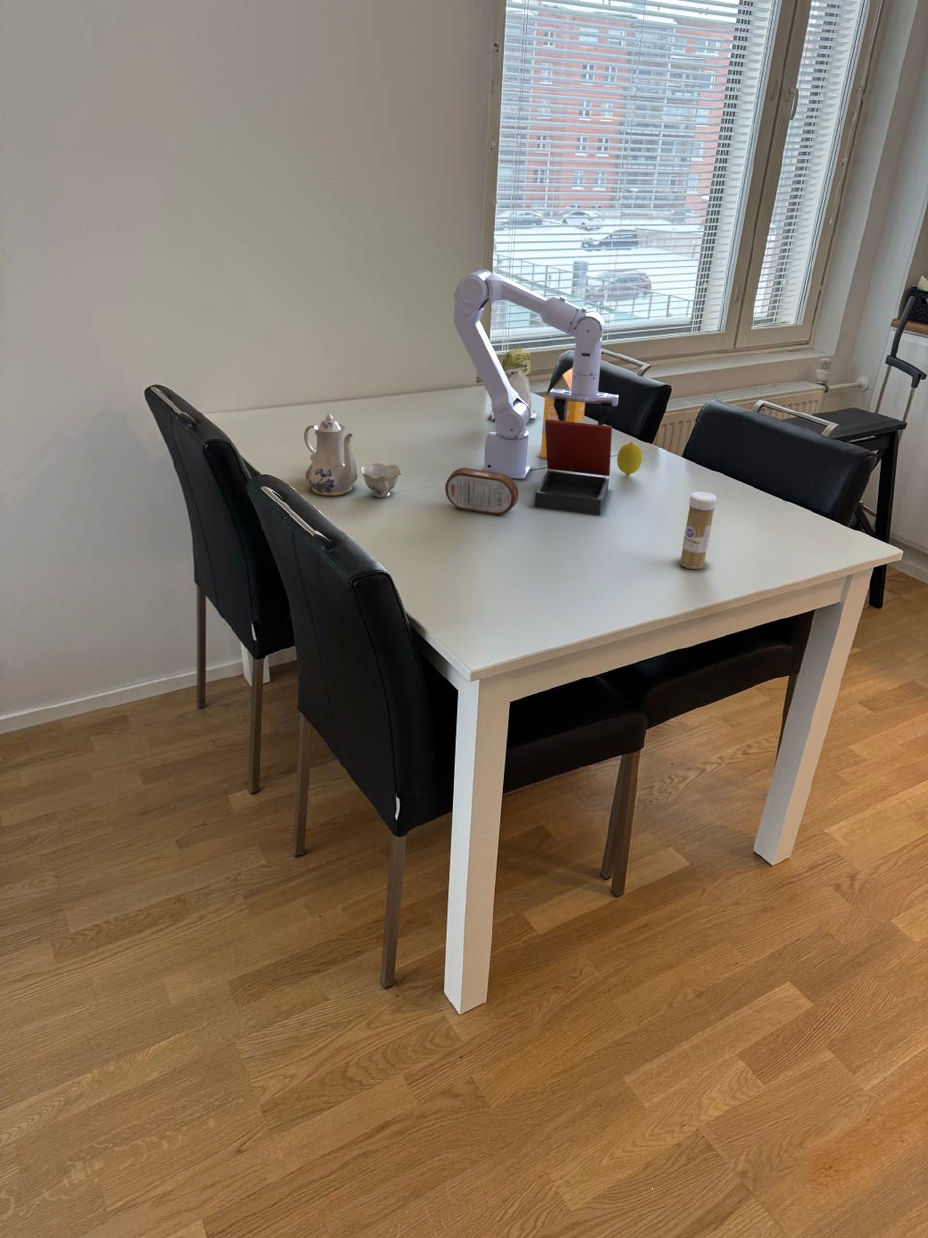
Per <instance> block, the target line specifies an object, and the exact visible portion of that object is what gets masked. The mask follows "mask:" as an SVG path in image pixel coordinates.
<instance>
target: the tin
mask: <svg viewBox="0 0 928 1238" xmlns="http://www.w3.org/2000/svg"><path fill="white" fill-rule="evenodd" d="M444 487H445V489H444V490H445V495H446V498H447V499H448V501H449V502H450V504H451V505H453V506H454V507H456V508H458V509H460V510H465V511H471V512H476V513H481V514H487V515H488V514H489V515H493V516H502V515H505V514H506V513H509V512H510V511H511V510H512V508H514V507H515V505H516V504H517V502H518V499H519V488H518V486H517V484H516V482H515V481H514V480H513V478H510V477H508V476H507V475H504V474H501V473H495V472H489V471H484V470H482V469H476V468H470V467H461V468H457V469H455V470H454V471H453V472H452V473H451V474H450V476H449V477H448V478H447V480H446V482H445V486H444Z"/></svg>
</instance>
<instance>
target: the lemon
mask: <svg viewBox="0 0 928 1238" xmlns="http://www.w3.org/2000/svg"><path fill="white" fill-rule="evenodd" d="M642 462H643V452H642V449H641V447H640V446H639V445H638V444H636V443H635V442H634V441H629V442H627V443H624V444H623V445H622V446H621V447H620V448H619V450H618V453H617V457H616V464H617V467H618V470H620V472H622V473H624V475H625V476H627V477H629V476H631V474H634V473H636V472H638V470H639V469H640V468H641V465H642Z"/></svg>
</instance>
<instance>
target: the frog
mask: <svg viewBox="0 0 928 1238" xmlns="http://www.w3.org/2000/svg"><path fill="white" fill-rule="evenodd" d="M502 369H503V371H504V373H509V374H510V375H509V377H508V378H507V379H508V381H509V383H510V385H511V387H512V388H513V389H514V390H515V391H516V392H517V393H518V395H519V397H520V398H521V400H522V401H524V402H525V403H526V404H527V405H528V406H529V408H530V411H531V417H530V419H534V420H535V419H536V417H538V416H539V414H538V413H537V412H536V410H533V408H532V397H531V387H530V381H529V379H528V377H527V376H526V375H528V374H530V373H531V372H532V363H531V352H530V351H529V350H528V349H526V348H513V349H511V350H509V351H508V352H506V355H505V357H503V359H502ZM489 416H490V417H491V420H492V421H493V420H495V416H494V414H493V412H492V409H491V410H490V413H489Z"/></svg>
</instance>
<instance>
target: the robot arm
mask: <svg viewBox="0 0 928 1238" xmlns="http://www.w3.org/2000/svg"><path fill="white" fill-rule="evenodd" d="M453 298H454V314H453V324H454V327H455V329H456V331H457V333H458V335H459V337H460V339H461V342H462V344H463V345H464V347H465V349H466V351H467V354H468V356H469V358H470V359H471V361H472V363H473V365H474V368H475V370H476V372H477V374H478V376H479V378H480V381H481V382H482V383H483V386H484V388H485V390H486V392H487V394H488V397H489V398H490V403H491V405H490V406H491V410H492V411H491V412H493V414H494V416H495V418H494V426H495V430H496V431H488V432H487V434H486V437H485V442H484V456H483V471H489V472H495V473H501V474H504V475H507V476H508V477H510V478H511V479H516V480H517V479H518V480H524V479H525V478H526V476H527V475H528V473H529V472H530V470H531V466H528V465H527V462H528V461H527V460H528V448H529V447H528V446H529V431H528V429H527V426H526V425H528V423H529V421H530V420H531V418H530V417H531V411H530V408H529V406H528V405H527V404H526V403H525V402H524V401H522V400H521V398H520V397H519V395H518V393H517V392H516V391H515V390H514V389H513V388H512V387H511V385H510V383H509V381H508V379H509V378H508V376H507V375H506V372H504V371H503V366H502V365H501V363H500V360H499V358H498V356H497V354H496V352H495V350H494V348H493V346H492V344H491V342H490V340H489V337H488V336H487V333H486V332H485V329H484V327H483V325H482V323H481V318H482V316H483V312H484V309H485V306H486V305H487V304H488V303H493V302H499V301H507V302H509V303H512V304H515V305H517V306H519V307H522V308H524V309H526V310H529V311H531V312H534V313H536V314H539V316H540V318H541V320H542V323H544V324H545V325H547V326H550V327H552V328H554V329H556V330H557V331H560V332H563V333H565V334H566V335H569V336H573V337H574V339H575V347H574V350H573V359H572V360H573V362H572V367H573V372H572V385H571V390H554V389H552V388H551V389H552V390H551V389H550V391H549V392H550V400H553V401H554V400H555V401H554V408H555V410H556V413H557V416H558V419H559V421H566V413H567V405H568V401H574V402H585V404H586V403H587V404H597V405H599V407H598V416H597V417H598V418H597V420H598V421H597V425H604V424H605V421H606V420H607V417H608V416H609V413H610V412H611V410H612V408H613V407H617V406H618V404H619V394H612V393H607V392H602V391H599V384H600V372H601V363H602V362H601V361H602V346H603V340H602V339H603V338H602V336H603V335H604V332H605V329H606V323H605V322H606V321H605V319H604V317H603V316H602V315H601V314H600V313H598V312H597V311H596V310H588V307H585V306H582V307H581V306H577V305H575V304H573V303H571V302H569V301H567V299H568V298H567V297H565V296H563V295H560V296H559V297H558V296H556V295H554V296H552V297H549V298H546V297H544V296H542V295H539V294H538V293H536V292H534V291H531V290H530V289H528V288H526V287H524V286H522V285H521V284H519V283H517V282H514V281H512V280H511V279H509V278H506V277H505V276H503V275H501V274H499V273H495V272H493V273H492V272H491V271H489V270H487V269H484V268H479V269H476V270H473V271H472V272H471V273H470V274H466V275H464V276H463V277H462V278H461V279H460V280H459V281H458V283H457V286H456V288H455V291H454V293H453Z"/></svg>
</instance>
